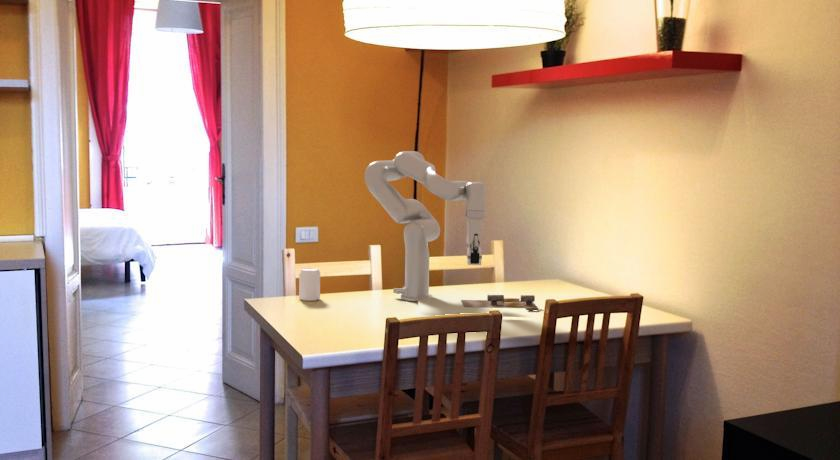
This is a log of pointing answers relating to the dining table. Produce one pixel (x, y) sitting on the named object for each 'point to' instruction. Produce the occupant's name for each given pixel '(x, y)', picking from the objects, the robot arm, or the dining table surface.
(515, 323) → the dining table surface
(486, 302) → the rig
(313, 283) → the beverage can
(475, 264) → the coupler
